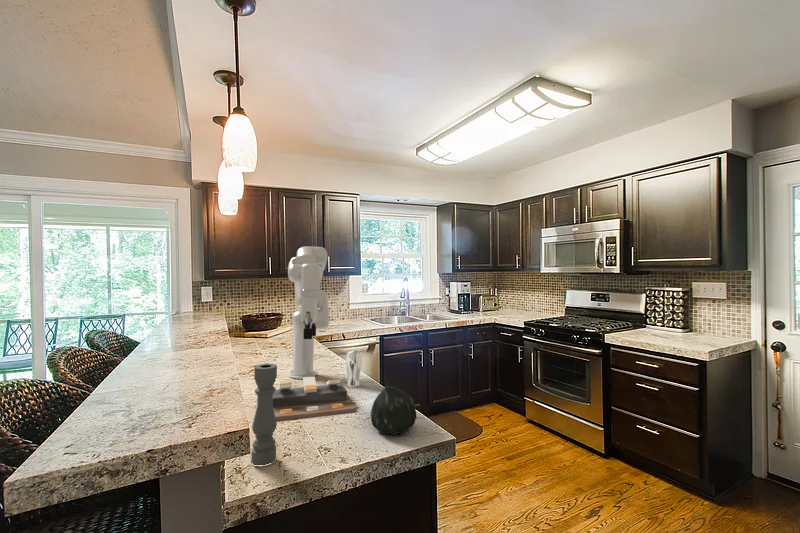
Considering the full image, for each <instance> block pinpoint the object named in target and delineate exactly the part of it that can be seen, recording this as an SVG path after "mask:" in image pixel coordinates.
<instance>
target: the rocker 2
mask: <svg viewBox="0 0 800 533" xmlns="http://www.w3.org/2000/svg"><path fill="white" fill-rule="evenodd" d="M302 382H303V383H302V384H303V387H304V392H305V393H310V392H317V387H316V386H317V382H316V377H315V376H314V377H303V379H302Z"/></svg>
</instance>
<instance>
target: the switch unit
mask: <svg viewBox="0 0 800 533" xmlns="http://www.w3.org/2000/svg"><path fill="white" fill-rule="evenodd" d="M316 387H317V392H310V393H305V392H304V386H303V387H302V386H301V387H292V388H290V389H279V388H278V389H276V390H275V392H274V393H273V409H274V414H275V418H276V422H277V421H284V420H292V419H293V420H294V419H302V418H310V417H311V418H313V417H319V416H327V415H328V416H329V415H337V414H344V413H345V414H347V413H354V412H355V413H357V407H356V406H355V404H354V402H352V400H351V398H350V397H349V395H348V391H347V389H346V388H345V386H344V385H343V383H339V384H336V385H326V384H325V385H316Z"/></svg>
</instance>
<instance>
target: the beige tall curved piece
mask: <svg viewBox="0 0 800 533" xmlns="http://www.w3.org/2000/svg"><path fill="white" fill-rule="evenodd" d="M362 354H363V353H362V350H357V349H350V350H347V351H346V357H345V358H346V359H345V362H346V363H345V364H346V365H345V366H346V373H347V382H346V386H347V387H348V386H349V388H358V387H360V386H361V379H360V377H361V376H360V375H361V372H362V363H363V361H362V360H363V358H362V357H363V356H362ZM357 386H358V387H357Z"/></svg>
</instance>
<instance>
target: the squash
mask: <svg viewBox="0 0 800 533" xmlns="http://www.w3.org/2000/svg"><path fill="white" fill-rule="evenodd" d="M417 418H418V417H417V408H416V403H415V401H414V399H413V397H412V396H411V395H410V394H408V393H407V392H405V391H403V390H402V389H400V388H397V387H394V386H391V385H388V386H387V385H385V386H384V387H383V389H382V390H381V392H379V394H377V396H376V398H375V399H374V401H373V404H372V406H371V410H370V421H371V425H372V426H373V428H374V429H376V430H377V431H379V433H381V434H384V433H387V434H390V435H391V434H392V436H397V435H398V433H399V432H400V433H405V434H407V433H408V432H409V430H410V428H412V427H413V426H414V425H415V424H416V419H417ZM388 432H389V433H388ZM400 433H399V434H400ZM396 434H397V435H396Z"/></svg>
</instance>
